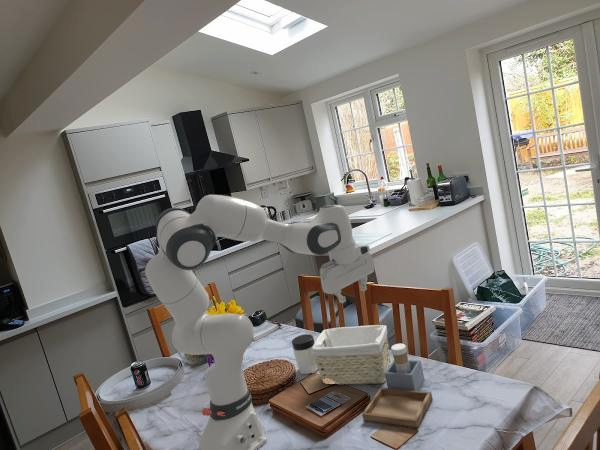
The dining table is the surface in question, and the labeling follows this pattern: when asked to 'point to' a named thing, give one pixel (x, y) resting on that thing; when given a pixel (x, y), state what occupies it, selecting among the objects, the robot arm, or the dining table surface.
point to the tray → (398, 407)
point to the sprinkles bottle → (401, 358)
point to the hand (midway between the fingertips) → (353, 296)
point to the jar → (304, 353)
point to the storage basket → (353, 354)
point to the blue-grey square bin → (405, 377)
